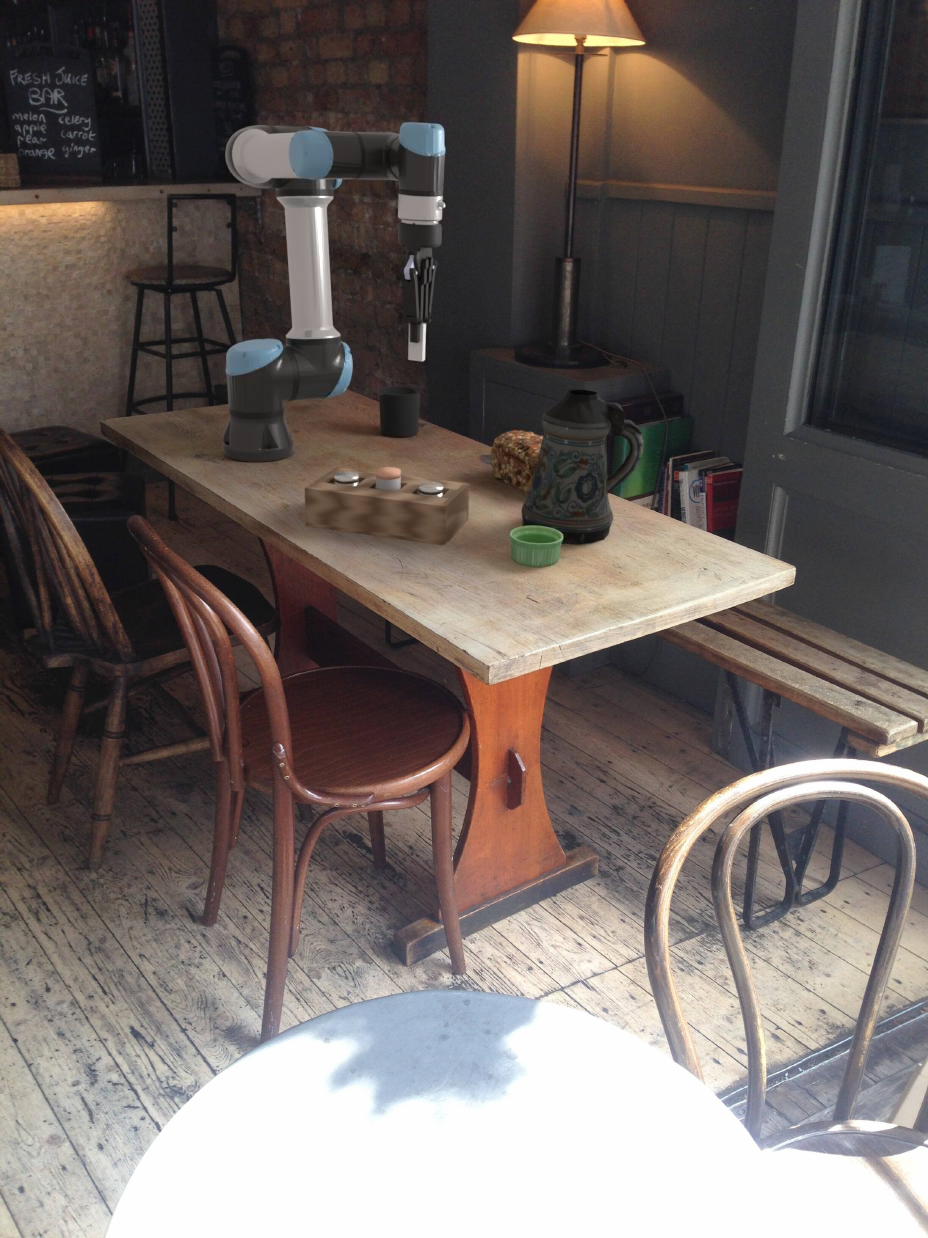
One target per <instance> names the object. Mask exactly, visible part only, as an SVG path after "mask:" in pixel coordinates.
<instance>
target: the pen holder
mask: <svg viewBox="0 0 928 1238" xmlns="http://www.w3.org/2000/svg"><path fill="white" fill-rule="evenodd" d="M378 396H379V397H378V398H379V421H380V422H379V424H380V425H379V426H380V432H381V434H382V435H383V436H386V437H390V438H399V439H401V438H402V439H405V438H412V437H415V436H416V435H417V434H418V432H419V421H420V420H419V419H420V418H419V417H420V406H421V405H420V404H421V402H420V400H421V393H419V392H418V391H417V390H416V389H415V388H414V387H411V386H405V385H403V386H402V385H398V386H397V385H395V386H394V385H393V386H392V385H391V386H385V387H381V388H380V389H379V392H378Z"/></svg>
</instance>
